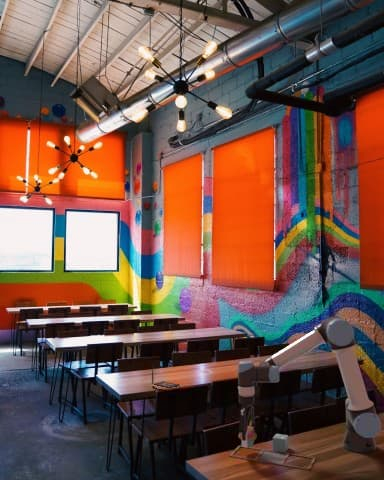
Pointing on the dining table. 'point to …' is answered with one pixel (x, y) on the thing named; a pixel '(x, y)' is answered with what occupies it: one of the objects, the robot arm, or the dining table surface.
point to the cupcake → (250, 436)
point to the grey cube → (280, 443)
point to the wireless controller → (163, 382)
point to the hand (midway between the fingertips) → (247, 443)
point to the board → (273, 457)
